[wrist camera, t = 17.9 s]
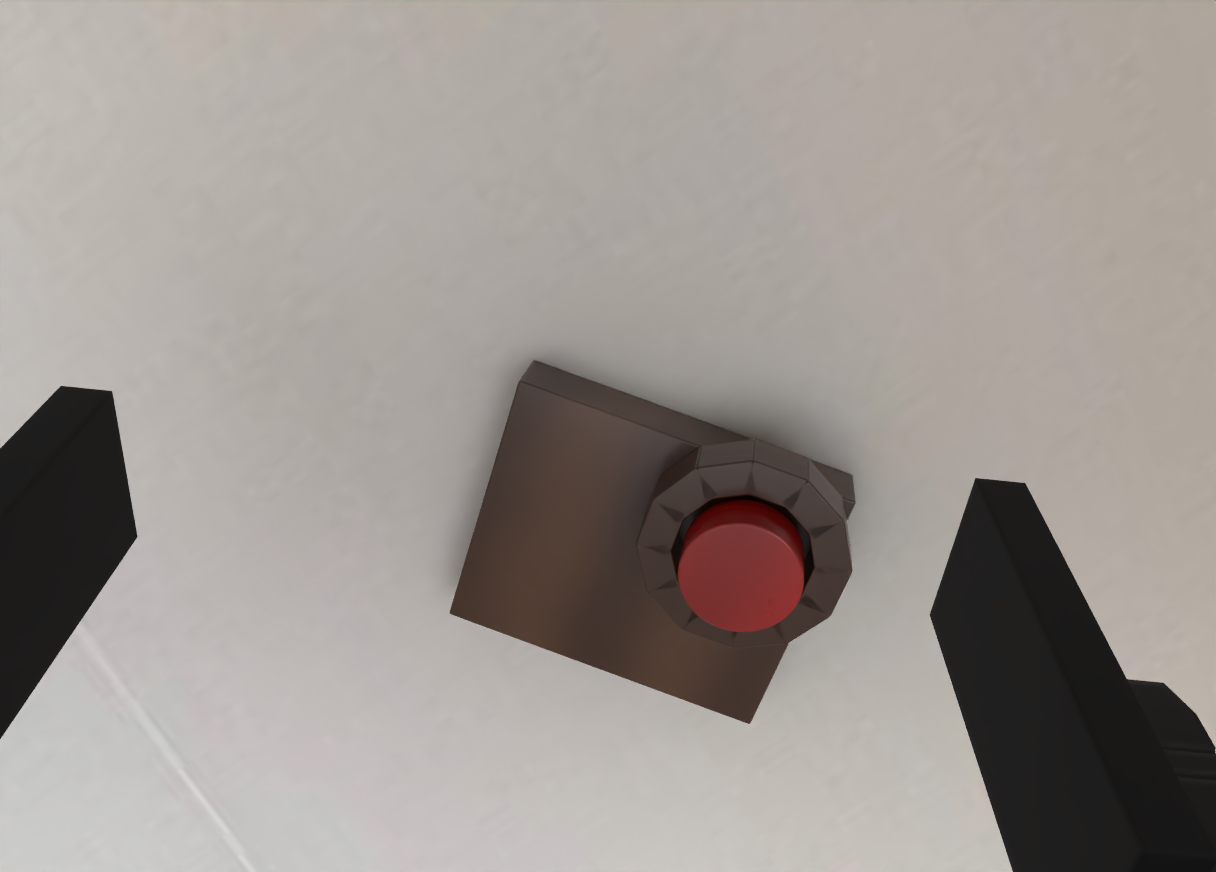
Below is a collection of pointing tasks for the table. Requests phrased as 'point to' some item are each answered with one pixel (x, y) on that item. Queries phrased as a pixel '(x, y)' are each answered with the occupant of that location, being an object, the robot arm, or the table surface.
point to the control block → (638, 538)
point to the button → (742, 566)
